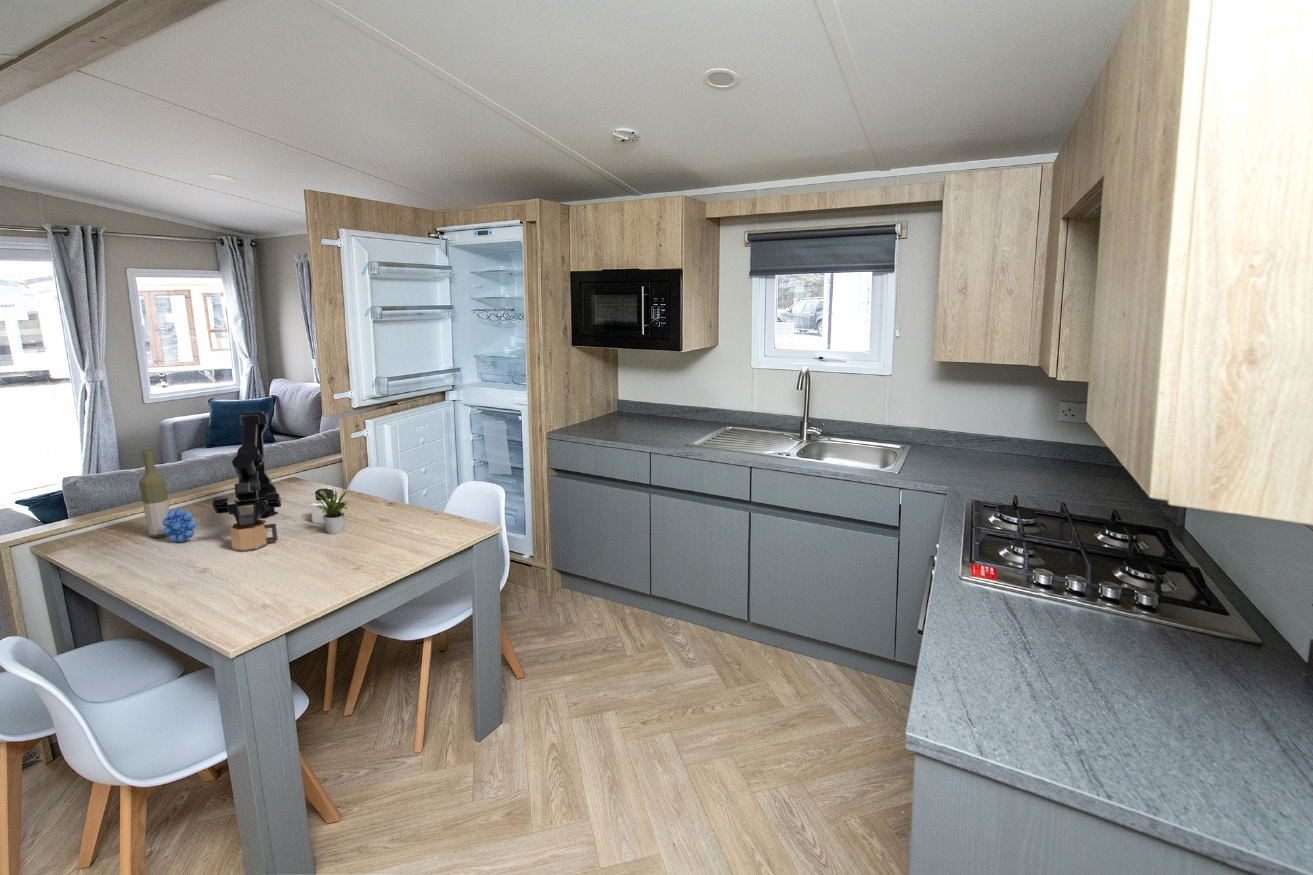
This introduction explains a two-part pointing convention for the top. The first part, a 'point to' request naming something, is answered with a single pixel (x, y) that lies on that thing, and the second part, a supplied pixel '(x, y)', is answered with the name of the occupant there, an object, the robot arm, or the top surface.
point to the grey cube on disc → (246, 520)
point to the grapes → (179, 525)
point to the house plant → (333, 513)
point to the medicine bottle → (318, 513)
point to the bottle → (154, 496)
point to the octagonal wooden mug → (251, 536)
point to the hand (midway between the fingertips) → (247, 525)
